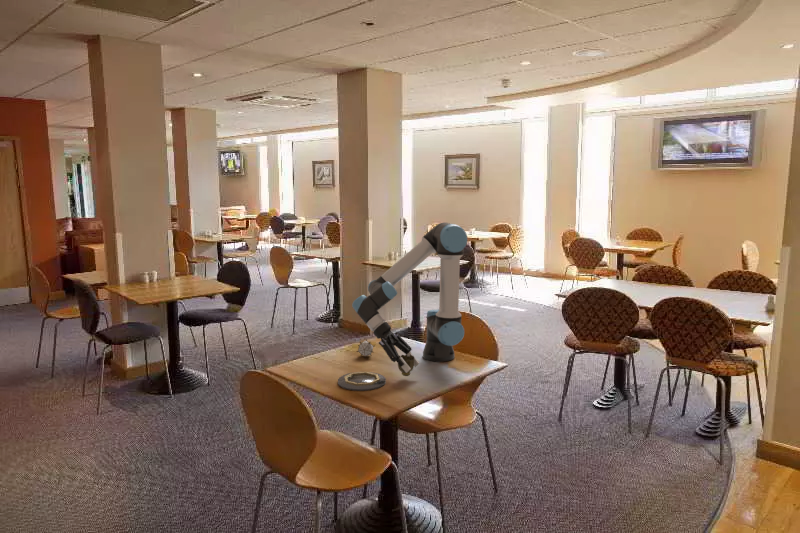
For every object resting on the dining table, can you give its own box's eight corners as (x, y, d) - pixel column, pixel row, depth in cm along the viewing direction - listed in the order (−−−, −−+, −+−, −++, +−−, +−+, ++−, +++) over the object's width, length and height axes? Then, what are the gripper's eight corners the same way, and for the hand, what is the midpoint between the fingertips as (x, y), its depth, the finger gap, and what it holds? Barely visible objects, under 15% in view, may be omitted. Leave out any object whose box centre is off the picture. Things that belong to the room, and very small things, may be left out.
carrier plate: (381, 372, 257) (381, 368, 257) (389, 388, 238) (389, 384, 237) (335, 376, 253) (335, 371, 253) (340, 392, 234) (340, 387, 233)
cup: (394, 376, 247) (394, 358, 246) (400, 371, 254) (400, 353, 252) (411, 378, 244) (411, 360, 243) (416, 373, 251) (416, 355, 250)
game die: (364, 362, 283) (366, 343, 288) (377, 359, 278) (379, 340, 283) (351, 357, 277) (353, 337, 282) (364, 354, 272) (366, 334, 277)
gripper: (385, 326, 262) (418, 366, 257) (361, 337, 245) (396, 380, 240) (395, 316, 259) (429, 356, 254) (372, 326, 241) (407, 370, 236)
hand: (413, 368), depth 247 cm, fingers closed on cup, 7 cm apart
